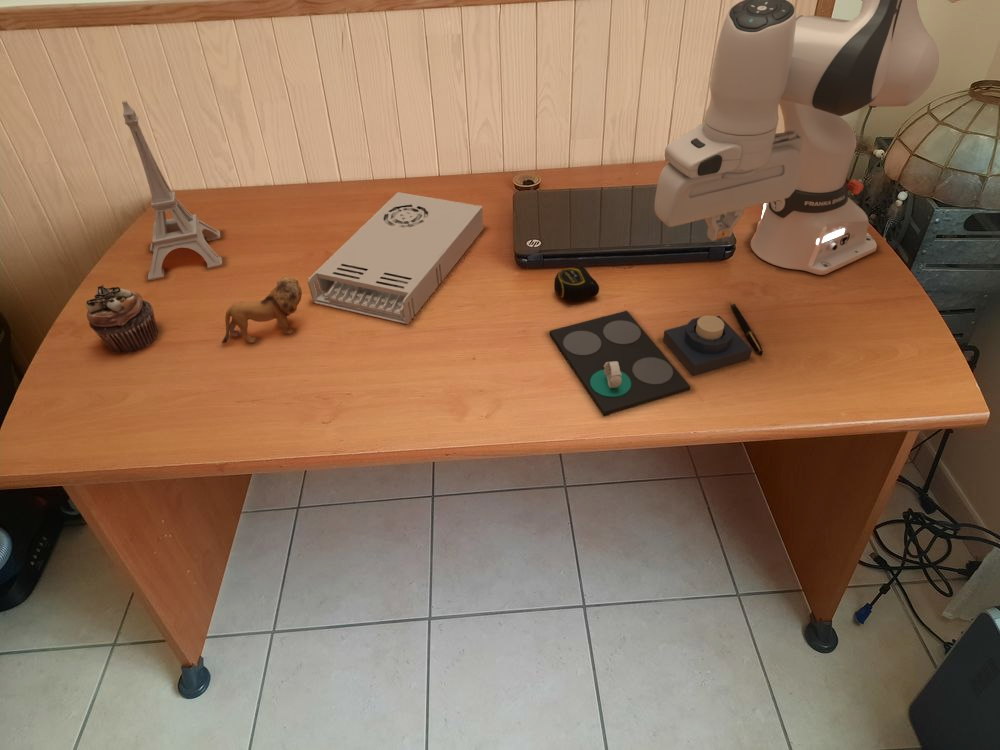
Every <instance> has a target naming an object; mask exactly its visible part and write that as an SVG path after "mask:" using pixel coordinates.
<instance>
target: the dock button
mask: <svg viewBox="0 0 1000 750" xmlns="http://www.w3.org/2000/svg"><path fill="white" fill-rule="evenodd" d="M699 317H700V318H699V319H698V321H697V326H696V334H697V335H698V336H699V337H701V338H704V339H706V340H716V339H719V338H720V337H721V336H722V334H723V330H724V322H723V321H722V320H721V319H720V318H718V317H716V315H711V314H710V315H709V314H708V315H707V314H706V315H703V316H699Z"/></svg>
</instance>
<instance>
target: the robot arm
mask: <svg viewBox="0 0 1000 750" xmlns="http://www.w3.org/2000/svg"><path fill="white" fill-rule="evenodd" d="M861 1H862V3H861V7H860V10H859V14H858V15H857V16H856V17H855V18H853V19H851V20H849V19H842V18H841V19H840V18H833V17H827V16H826V17H825V16H820V15H803V14H797V11H796V8H795V6H794V5H793V3H791V2H790V1H788V0H742V1H739V2H737V3H736V4H734V5H733V6H732V7H731V8H730V9H729V11H728V12H727V14H726V16H725V19H724V21H723V23H722V27H721V30H720V34H719V37H718V40H717V44H716V49H715V53H714V56H713V57H714V58H713V62H712V68H711V73H710V78H709V89H710V101H709V104H708V107H707V109H706V110H705V113H704V119H703V122H701V123H700V124H698V125H697V126H696V127H694V128H693V129H691V130H690V131H688V132H687V133H685V134H683V135H682V136H679V137H678V138H675V139H674V140H673V141H670V142H669V143H668V144H667V145H666V146H665V149H664V158H665V159H666V161H668V163H666V164H665V166H664V167H663V168H662V170H661V171H660V174H659V177H658V181H657V185H656V191H655V197H654V205H653V211H654V214H655V215H656V217H657V218H658V219H659V220H660V221H661V222H662V223H664V224H665V226H667V227H668V228H674V227H677V226H681V225H686V224H689V223H693V222H697V221H701V220H704V221H705V223H706V225H707V230H706V236H707V238H708V239H709V240H710V241H712V242H713V241H717V240H721V239H725V238H729V237H732V234H733V230H734V227H735V226H736V225H737V223H738V222H739V220H740V219H741V218H742V216H743V215H744V213H745V212H744V211H745V209H750V208H753V207H758V206H762V205H763V209H762V214H761V219H760V220H759V221H758V222H757V225H756V230H755V232H754V234H753V236H752V238H751V240H750V248H751V251H752V252H753V253H754V254H755V255H756V256H757V257H758V258H760V259H761V260H763V261H765V262H766V263H768V264H771V265H773V266H776V267H780V268H784V269H788V270H797V271H804V272H806V273H807V272H808V273H811V274H814V275H819V276H825V275H827V274H829V273H832V272H833V271H836V270H838V269H840V268H843V267H845V266H848V265H849V264H851V263H854V262H856V261H857V260H860V259H862V258H864V257H866V256H868V255H871V254H873V253H875V252H876V251H877V248H878V244H877V241H876V240H875V239H874V237H873V236H872V235H871V234H870V233H869V232H868V230H869V217H868V215H867V213H866V212H865V211H864V210H863V209H862V208H861V207H860V204H861V202H860V201H859V200H856V199H853V198H851V197H849V193H848V192H849V191H850V192H851V193H852V194H854V195H859V194H860V193H861V192H862V191H863V189H864V184H863V183H862V182H860V181H858V180H857V179H855V178H852V179H848V174H849V171H850V167H851V164H852V162H853V158H854V156H855V151H856V148H857V136H856V133H855V131H854V129H853V127H852V126H851V124H850V123H849V122H848V121H847V120H845V119H844V118H843V116H846V115H849V114H851V113H854V112H857V111H859V110H860V109H862V108H864V107H866V106H868V107H873V108H874V107H879V108H880V107H883V108H884V107H885V108H887V107H888V108H889V107H890V108H891V107H893V108H895V107H907V106H910V105H911V104H913V103H914V102H915V101H917V100H918V99H920V98H921V97H922V96H923V95H924V94H925V93H926V92H927V90H928V89H929V88H930V86H931V85H932V84H933V81H934V80H935V77H936V75H937V73H938V68H939V62H940V56H939V55H940V54H939V48H938V45H937V44H936V41H935V39H934V38H933V36H932V35H931V34H930V33H929V31H928V30H927V29H926V27H925V25H924V23H923V21H922V18H921V15H920V12H919V8H918V0H861ZM779 107H780V110H781V114H782V120H783V127H784V129H783V130H784V131H783V132H777V129H778V125H779ZM721 215H724V218H723V219H722V220H721ZM720 220H721V221H720Z"/></svg>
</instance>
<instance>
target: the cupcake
mask: <svg viewBox="0 0 1000 750" xmlns="http://www.w3.org/2000/svg"><path fill="white" fill-rule="evenodd" d="M85 307H86V310H87V312H86V318H87V321H88V324H89V327H90V328H91V329H92V330H93V331H94V332H95V334H96V335H97V336H98V337H99V338H100V339H101V341H103V343H105V345H106V346H107V347H108V348H109V349H110V350H111V351H113V352H114V353H115V352H116V353H117V354H129V353H135V352H137V351H141V350H143V349H145V348H147V347H148V346H150V345H151V344H152V343H153V342H154V341H155V340H156V338H157V337H158V334H159V330H158V326H157V323H156V318H155V312H154V306H153V305H152V304H151V302H149V301H148V300H146V299H143V297H142V295H141V294H140V293H138V292H137V291H133V290H128V289H125V288H121V287H119V286H116V287H114V286H113V287H110V288H108V287H104V285H103V284H102V285H99V286H97V289H96V294H95V295H94V298H91V299H89V300H86V302H85Z"/></svg>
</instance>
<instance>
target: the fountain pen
mask: <svg viewBox="0 0 1000 750" xmlns="http://www.w3.org/2000/svg"><path fill="white" fill-rule="evenodd" d="M729 304H730V306H731V307H730V308H731V309H732V311H733V313H734V315H735V317H736V319H737V321H738V323H739V324H740V327H741V329H742V330H743V332H744V333H745V336H746V338H747V340H748V342H749V343H750V345H751V346H752V347H753V349H754V351H756V353H757V354H758V355H761V356H762V355H763V352H764V351H763V348H762V345H761V343H760V341H759V339H758V338H757V336H756V334H755V332H754V331H753V330H752V328H751V327H750V325H749V323H748V321H747V320H746V319H745V318H744V317H745V316H744V315H743V314H742V313H741V311H740V309H739V308H738V306H737V305H736V303H734V301H732V300H731V299H730V301H729Z"/></svg>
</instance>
